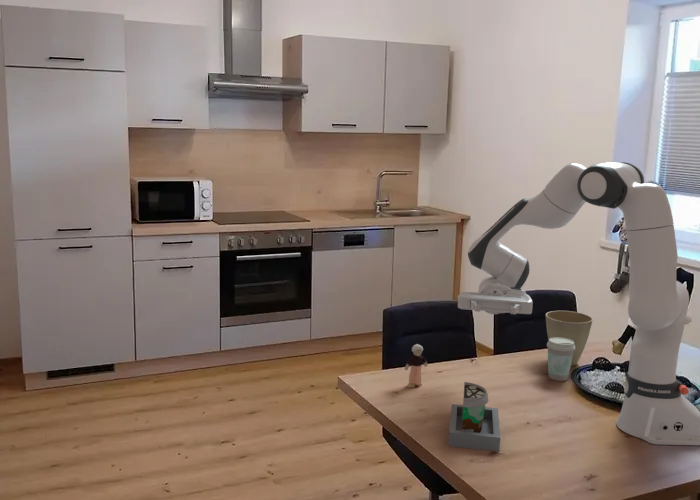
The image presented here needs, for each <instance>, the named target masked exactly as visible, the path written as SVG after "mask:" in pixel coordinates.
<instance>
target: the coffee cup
mask: <svg viewBox="0 0 700 500" xmlns="http://www.w3.org/2000/svg"><path fill="white" fill-rule="evenodd" d="M546 347H547V366H548V367H547V370H548V372H547V373H548V374H547V375H548V378H549V379H550V380H553V381H558V382H565V381H567V380H569V377H570V371H571V367H572V366H571V362H572V358H573V353H574V350H575V345H574V342H573V341H572V340H570V339H566V338H559V337H555V338H550V339H549V340H548V341H547V343H546Z"/></svg>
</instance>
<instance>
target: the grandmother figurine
mask: <svg viewBox="0 0 700 500" xmlns="http://www.w3.org/2000/svg"><path fill="white" fill-rule="evenodd" d="M423 351H424V348H423V346H422V345H420V344H419V343H416V344H414V345H413V346H412V347H411V352H413V353H412V354H413V355H412V356H411V357H410V358H409V359H408V361H407V362H406V364H405V367H404V370H405V371H408V370H409V367H410V371H409V375H408V384H407V386H408V388H416V387H422V386H423V383H422V364H423V366H424V367H428V362H427V359H426V357H424V356H423V355H422V353H423Z"/></svg>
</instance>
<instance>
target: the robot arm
mask: <svg viewBox="0 0 700 500" xmlns="http://www.w3.org/2000/svg"><path fill="white" fill-rule="evenodd" d="M586 203H588V204H590V205H593V206H597V207H603V208H607V209H613V210H614V209H617V208H618V209H619V210H620V211H621V212H622V215H623V218H624V224H625V231H626V239H627V249H628V256H629V285H628V286H629V288H628V289H629V290H628V292H629V294H628V295H629V296H628V297H629V299H628V300H629V301H628V305H627V306H628V307H627V314H628V317H629V319H630V321H631V322H632V323H633V325H635V326H636V329H635V333H634V334H633V335H634V336H633V338H632V342H631V344H630V354H629V364H628V371H627V372H626V377H625V379H624V380H625V381H624V389H623V391H624V399H623V403H622V407H621V409H620V411H619V415H618V418H617V420H616V423H615V424H616V426H617V427H618V429H620V430H621V431H623V432H624V433H626V434H628V435H630V436H633V437H635V438H639V439H642V440H644V441H645V442H647V443H649V444H652V445H665V446H667V445H669V446H670V445H671V446H700V411H699V409H698V408H697V407H696V406H695V405H694V404H693V403H692V402H691V401H690V400H689V399H688V398H686V397H685V396H687V395H688V394H689V392H690V389H689V388H688V387H687V386H686V385H685V384H683V383H682V382H681V381H680V380H679V379H677V378H676V376H677V369H678V368H677V367H678V360H679V350H680V346H681V341H682V338H683V333H684V328H685V325H686V320H687V315H688V308H689V304H690V295H689V291H688V289H687V288H686V286H685V285H684V284H683V283H682V282H680V281H679V280H677V268H678V267H677V263H678V258H679V257H678V256H679V254H678V247H677V240H676V232H675V224H674V219H673V214H672V213H673V212H672V209H671V205H670V201H669V198H668V196H667V193H666V190H665V188H663V187H662V186H661V185H659V184H657V183H652V182H651V183H650V182H645V177H644V175H643V172H642V171H641V169H640V168H639V167H638V166H636V165H634V164H632V163H630V162H624V161H623V162H617V161H607V162H602V163H596V164H592V165H590V166H588V167H586V166H584V165H583V164H580V163H575V162H574V163H573V162H571V163H568V164H566V165H565V166H563V167H562V168H561V169H560V170H559V171H558V172H557V173H556V174H555V175H554V176H553V177H552V178H551V180H549V181H548V183H547V184H546V186H545V187H544V188H543V189H542V191H540V193H538V194H537V195H535V196H533V197H530V198H521V199H520V200H518V201H517V202H516V203H515V204H514V205H512V206H511V208H510V209H508V210H507V211H506V212H505V213H504V214H503V215H502V216H501V217H500V218H499V219H498V220H496V222H495V223H494V224H493V225H492V226H490V228H488V229H487V230H486V231H485V232H484V233H482V235H480V236H479V237H477V238H476V239H475V240H474V241H473V242H472V243H471V245H470V246H469V248H468V252H467V257H468V261H469V263H470V265H471V266H473V267H475V268H477V269H478V270H482V271H483V272H484V273H486V274H488V275H486V276H485V277H484V278H483V279H482V280H481V281H480V283H479V286H478V291H477V292H473V291H463V292H460V293H459V294H458V295H457V296H456V298H457V299H456V300H457V308H458V309H460V310H467V311H468V310H469V311H470V310H471V311H474V312H479V313H480V312H481V311H482V312H485V313H488V314H491V315H498V314H505V313H508V314H509V313H510V315H517V314H521V315H531V314H532V313H533V304H534V303H533V299H532V298H531V296H530V295H529V294H527V292H526V289H524V288H523V286H524V284H525V283H526V281H527V279H528V277H529V275H530V262H529V260H528V258H526V257H525V256H523V255H522V254H520V253H519V252H516V251H515V250H512V248H510V247H508V246H507V245H505V244H503V243H501V242H500V239H501V238H503V237H504V236H505V235H506V234H507V233H508V232H509V231H510V230H512V228H514V227H516V226H520V225H525V226H534V227H537V228H542V229H547V230H549V229H551V230H555V229H559V228H562V227H565V226H566V225H568V223H569V222H571V220H572V219H573V218H574V217H575V216H576V215H577V214H578V212H579V211H580V209H581V208H582V207H583V205H585V204H586ZM522 288H523V289H522Z"/></svg>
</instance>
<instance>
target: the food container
mask: <svg viewBox="0 0 700 500" xmlns="http://www.w3.org/2000/svg"><path fill="white" fill-rule="evenodd" d="M463 384H464V385H463V387H464V388H463V399H462V400H463V401H462V405H463V413H462V430H461V431H466V432H475V433H480V432H481V430H482V423H483V417H484V410H485V407H486V405H487V404H488V402H489V394H488V391H487V389H486V388H484V387H483V386H482V385H479V384H476V383H473V382H466V381H464V383H463Z"/></svg>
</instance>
